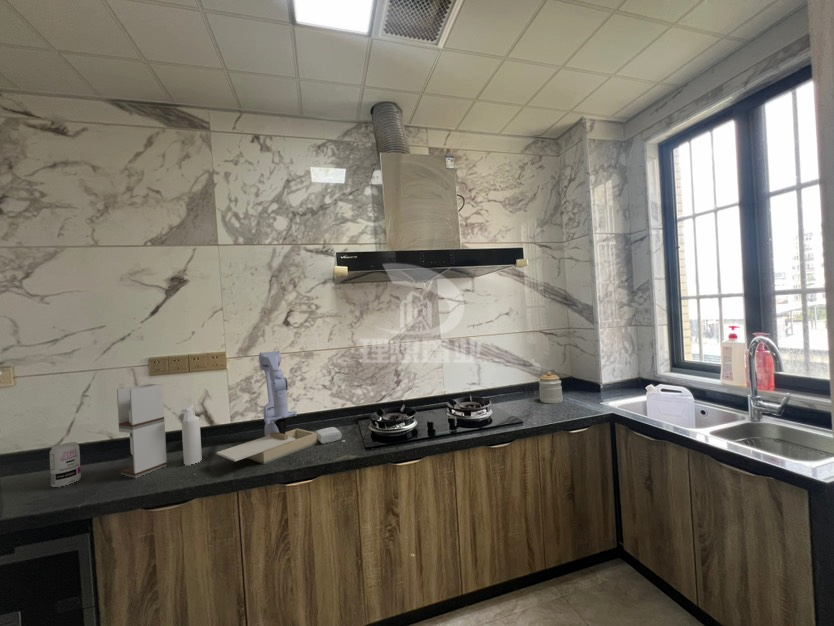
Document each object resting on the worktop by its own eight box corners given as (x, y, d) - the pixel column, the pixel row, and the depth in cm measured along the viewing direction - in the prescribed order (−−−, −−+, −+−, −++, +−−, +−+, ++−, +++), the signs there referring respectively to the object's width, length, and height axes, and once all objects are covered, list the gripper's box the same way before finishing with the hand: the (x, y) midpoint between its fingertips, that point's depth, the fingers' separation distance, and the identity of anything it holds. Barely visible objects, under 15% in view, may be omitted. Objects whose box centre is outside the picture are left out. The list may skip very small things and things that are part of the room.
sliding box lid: (216, 454, 142) (216, 447, 142) (275, 434, 162) (275, 429, 162) (235, 461, 132) (234, 454, 132) (295, 439, 152) (294, 434, 153)
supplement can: (64, 479, 140) (62, 442, 140) (86, 477, 140) (84, 440, 141) (44, 489, 132) (42, 450, 132) (68, 487, 132) (66, 447, 133)
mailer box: (245, 457, 150) (244, 445, 151) (297, 438, 171) (296, 428, 171) (264, 464, 141) (263, 452, 141) (317, 443, 161) (316, 432, 162)
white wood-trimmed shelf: (152, 464, 150) (148, 383, 151) (166, 466, 146) (162, 384, 147) (121, 475, 140) (116, 389, 141) (135, 478, 136) (130, 389, 137)
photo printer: (342, 439, 164) (334, 433, 175) (341, 430, 164) (334, 425, 175) (320, 445, 159) (314, 438, 170) (320, 435, 159) (313, 429, 170)
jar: (542, 404, 202) (539, 374, 202) (538, 399, 215) (535, 370, 215) (565, 403, 200) (563, 373, 200) (560, 398, 213) (557, 369, 213)
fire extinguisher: (208, 454, 157) (202, 400, 156) (197, 466, 145) (191, 407, 144) (191, 457, 155) (186, 402, 155) (179, 469, 143) (173, 409, 143)
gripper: (270, 410, 149) (272, 441, 148) (299, 402, 160) (301, 431, 160) (261, 408, 153) (263, 439, 152) (291, 401, 164) (292, 429, 164)
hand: (282, 435), depth 156 cm, fingers closed
